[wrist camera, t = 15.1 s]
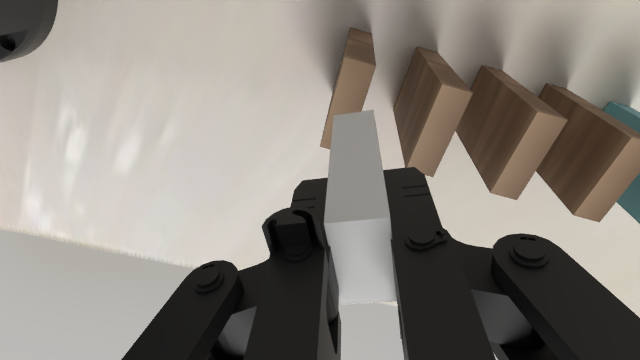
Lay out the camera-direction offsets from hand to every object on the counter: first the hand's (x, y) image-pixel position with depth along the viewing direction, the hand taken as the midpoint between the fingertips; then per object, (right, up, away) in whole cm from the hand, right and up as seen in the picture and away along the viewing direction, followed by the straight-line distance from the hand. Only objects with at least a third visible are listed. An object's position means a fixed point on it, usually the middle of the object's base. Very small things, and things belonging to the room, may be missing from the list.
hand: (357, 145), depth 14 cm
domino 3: (+11, +5, +14) cm, 18 cm away
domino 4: (+15, +3, +14) cm, 21 cm away
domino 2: (+6, +6, +14) cm, 16 cm away
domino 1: (+1, +7, +14) cm, 16 cm away
